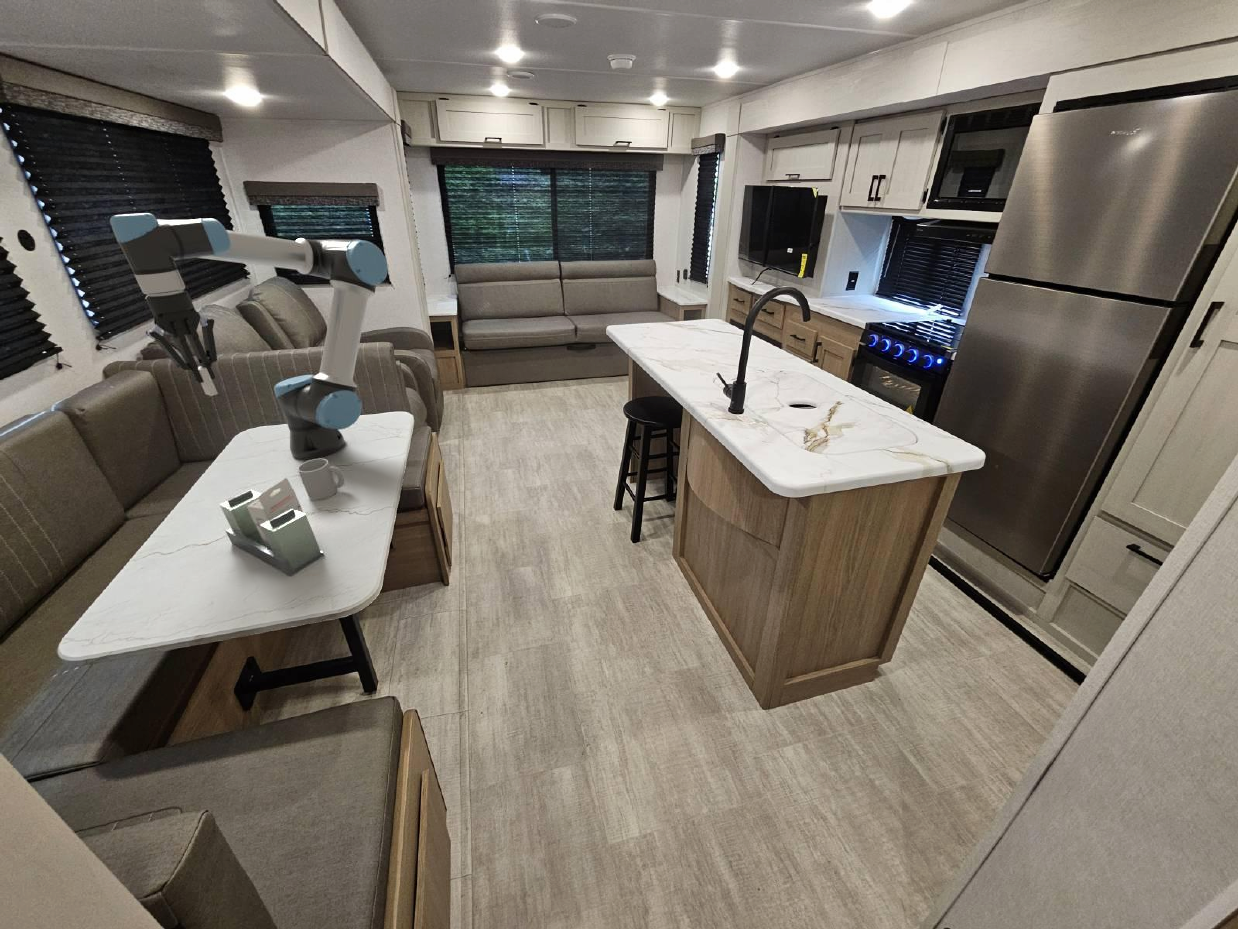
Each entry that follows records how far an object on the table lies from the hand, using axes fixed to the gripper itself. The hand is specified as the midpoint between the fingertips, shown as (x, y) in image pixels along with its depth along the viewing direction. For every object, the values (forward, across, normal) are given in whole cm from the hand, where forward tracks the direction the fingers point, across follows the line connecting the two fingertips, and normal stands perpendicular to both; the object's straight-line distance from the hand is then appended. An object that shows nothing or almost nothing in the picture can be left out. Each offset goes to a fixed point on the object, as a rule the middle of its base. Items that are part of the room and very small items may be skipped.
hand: (211, 393), depth 125 cm
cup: (+31, -11, +14) cm, 35 cm away
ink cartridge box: (+30, +7, +26) cm, 40 cm away
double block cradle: (+30, +10, +26) cm, 41 cm away
